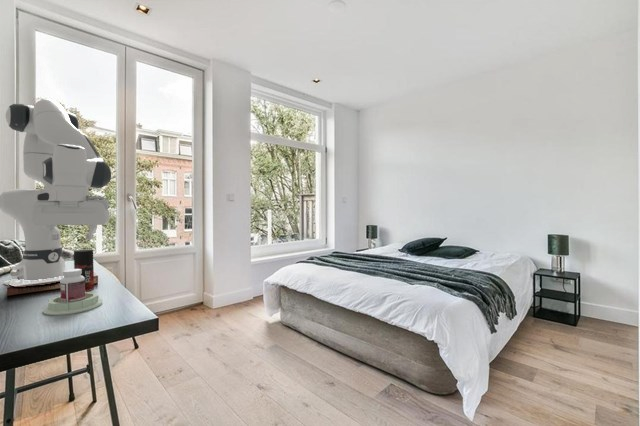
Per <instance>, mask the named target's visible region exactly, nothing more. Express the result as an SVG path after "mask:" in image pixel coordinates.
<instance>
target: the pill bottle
mask: <svg viewBox="0 0 640 426" xmlns="http://www.w3.org/2000/svg"><path fill="white" fill-rule="evenodd" d="M81 274H82V270H81V269H74V268H71V269H66V270H65V271H63V276H64V278H62V279H61V281H60V283H59V284H60V296H61V303H65V302H74V301H80V300H84V299H85V292H86V291H85V278H84V276H81Z"/></svg>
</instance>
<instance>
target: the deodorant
mask: <svg viewBox="0 0 640 426" xmlns="http://www.w3.org/2000/svg"><path fill="white" fill-rule="evenodd" d="M73 269H81V270H82V274H81V276H84V278H85V292H89V291H91V290H94V289H95V278H94V277H95V275H94V271H95V270H94V250H93V249H91V248H90V249H89V248H88V249H78V250H73Z"/></svg>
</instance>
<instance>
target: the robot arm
mask: <svg viewBox="0 0 640 426" xmlns="http://www.w3.org/2000/svg"><path fill="white" fill-rule="evenodd" d="M5 111H6V113H5V119H6V123H7V124H8V127H9V128H11V129H12V130H13V131H17V132H20V133H25V137H24V142H23V152H22V153H23V155H22V156H23V157H22V158H23V161H22V163H23V173H24V174H25V175H26V176H27V177H28V178H30V179H32V180H35V181H38V182H39V183H42V184H43V186H44V188H14V189H13V188H12V189H7V190H4V191H3V192H1V194H0V210H1V211H2V213H4V214H6V215H8V216H9V217H11V218H12V219H13V220H15V221H16V222H17V223H18V224H19V225H20V227H21V228H22V232H23V234H24V243H25V244H24V245H25V249H24V250H23V251H21V253H22V260H21V261H20V262H19V263H17V264H16V265H15V266H14V267H13V268H12V269H11V270H10V276H11V279H18V280H20V279H24V280H38V279H47V278H54V277H59V276H63V271H65V270H67V265H66V261H65V259H64V258H63V257H62V256H63V247H61V245H62V244H61V242H62V240H61V231H60V229H59V227H57V226H88V227H89V232H88V233H85V239H86V240H93V239H94V233H95V232H96V230H97V229H98V226H99V225H101V226H103V225H104V226H105V225H108V224H109V222H110V213H109V207H110V206H109V205H110V202H109V199H108V198H106V197H104V196H103V195H90V193H89V188H93V189H103V188H104V187H106V186H107V185H108V184H109V183H110V182H111V180H112V171H111V168H110V165H108V163H107V161H105V160H104V159H103V157H102V156H101V155H100V153H99V151H98V150H97V149H96V147H95V146H94V144H93V142H92V141H91V139H90V138H89V137H88V136H87V134H85V133H84V132H82V131H80V122H79V119H78V117H77V116H76V114H74V113H71V112H68V111H66V110H65V108H64V107H63V106H62V105H61V104H60V103H59V102H57V101H55V100H53V99H39V100H37V102H35V103H34V105H31V104H30V105H29V104H27V105H26V104H23V103H13V104H11V105H9V106H8V107H7V109H6V110H5ZM11 279H8V280H4V281H3V285H6V286H9V285H8V284H9V281H10V280H11Z"/></svg>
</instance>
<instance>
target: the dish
mask: <svg viewBox="0 0 640 426" xmlns="http://www.w3.org/2000/svg"><path fill="white" fill-rule="evenodd" d="M47 301H48V302H47V305H46V306H44V308H42V314H44V315H47V316H65V315H72V314H77V313H79V314H80V313H83V312H87V311H90V310H94V309H97V308H98V307H101V306H102V305H103V299H102V298H100V297H99V295H98V293H97V292H91V291H85V299H84V300H80V301H74V302H65V303H61V295H59V296H54V297H52V298H50V299H48V300H47Z"/></svg>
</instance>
